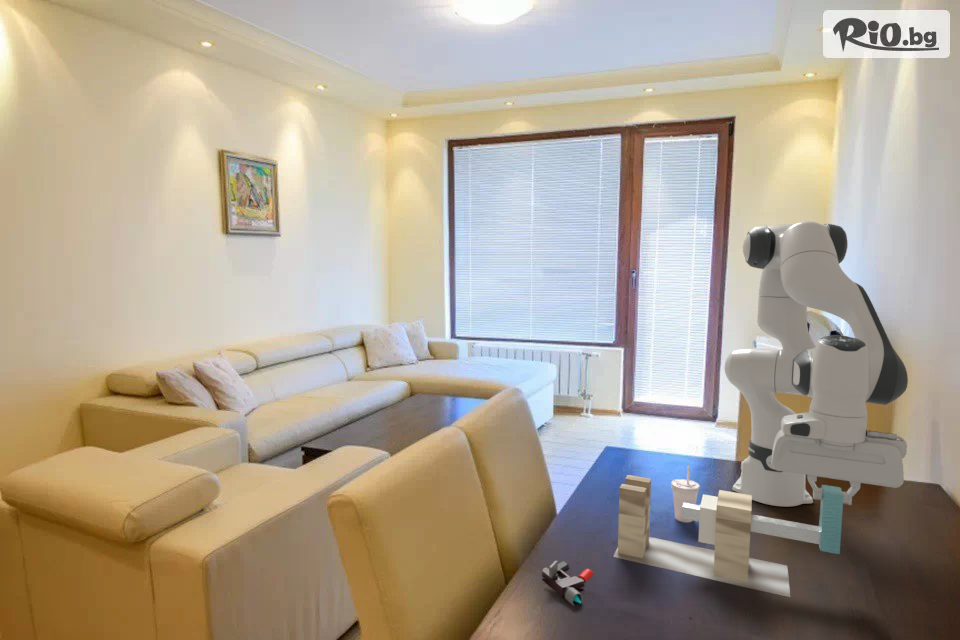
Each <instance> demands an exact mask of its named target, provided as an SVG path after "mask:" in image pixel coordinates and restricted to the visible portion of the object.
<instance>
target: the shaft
mask: <svg viewBox="0 0 960 640" xmlns="http://www.w3.org/2000/svg"><path fill="white" fill-rule="evenodd" d="M821 488H822V489H823V500H820V503H819V505H820V508H819V522H818V525H813V524H807V523H803V522H802V523H801V522H796V521H791V520H785V519H781V518H775V517H774V518H773V517H768V516H763V515H757V514H752V513H751V529H750V533H751V532H752V533H757V534H764V535H768V536H774V537H777V538H778V537H779V538H784V539H788V540H789V539H790V540H794V541H800V542H806V543H811V544H816V545H818V547H819V551H820V552H825V553H830V554H835V555H836V554H837V555H840V554H841V541H842V540H841V539H842V538H841V537H842V526H843V525H842V523H843V511H844V510H843V509H844V504H843V497H844V495H843V492H844V491H842V488H841V486H840V487H839V486H835V485H833V486H832V485H827V484H821ZM700 505H701V504H697V503H696V504H690V503H683V506H682V518H683V519H688V520H693V521H694V522H699V517H700ZM693 521H692V522H693Z"/></svg>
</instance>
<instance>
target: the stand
mask: <svg viewBox="0 0 960 640" xmlns="http://www.w3.org/2000/svg"><path fill="white" fill-rule="evenodd" d="M624 480H625V481H624V483H621V485H620V486H619V490H618V491H619V492H618V495H619V497H618V499H619V500H618V502H619V503H618V529H617V548H616V550H615V551H614V554H613V558H616V559H621V560H625V561H628V562H629V561H630V562H634V563H639V564H643V565H647V566H651V567H655V568H660V569H664V570H669V571H673V572H677V573H682V574H685V575H686V574H687V575H691V576H696V577H698V578H699V577H700V578H704V579H707V580H713V581H717V582H720V583H726V584H729V585H732V586H734V585H735V586H738V587H743V588H747V589H752V590H756V591H761V592H764V593H765V592H766V593H769V594H773V595H778V596H783V597H787V598H791V589H790V578H789V569H788V565H786V564H781V563H777V562H772V561H766V560H764V559H763V560H762V559H757V558H752V557H750V545H751V531H750V529H751V514H752V502H753V500H752V495H747V494H741V493H739V492H736V491H728V490H722V489H719V490H718V495H717V497H718V500H717V509H716V531H715V545H714V549H711V548H710V549H709V548H705V547H700V546H694V545H690V544H687V543H686V544H684V543H682V542H681V543H680V542H676V541H671V540H665V539H661V538H657V537H651V536H650V524H651V523H650V522H651V521H650V520H651V497H652V496H651V494H652V478H648V477H644V476H643V477H642V476H637V475H630V474H627V475H626V477H625V478H624Z"/></svg>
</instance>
